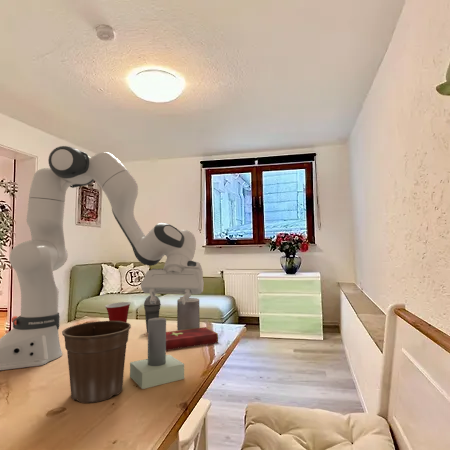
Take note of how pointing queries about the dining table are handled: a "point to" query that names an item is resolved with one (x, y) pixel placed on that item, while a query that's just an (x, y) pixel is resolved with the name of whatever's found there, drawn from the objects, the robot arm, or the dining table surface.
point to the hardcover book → (190, 338)
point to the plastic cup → (118, 311)
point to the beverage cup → (151, 309)
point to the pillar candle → (188, 314)
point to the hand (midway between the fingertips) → (166, 303)
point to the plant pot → (96, 359)
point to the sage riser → (156, 372)
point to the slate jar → (156, 341)
